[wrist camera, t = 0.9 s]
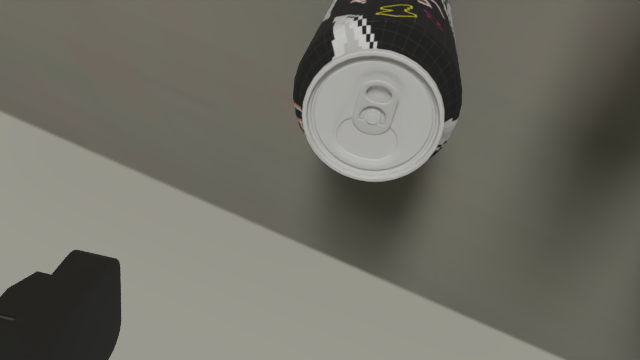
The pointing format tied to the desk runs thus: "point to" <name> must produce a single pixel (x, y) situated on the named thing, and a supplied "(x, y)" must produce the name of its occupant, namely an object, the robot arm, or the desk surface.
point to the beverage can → (379, 86)
